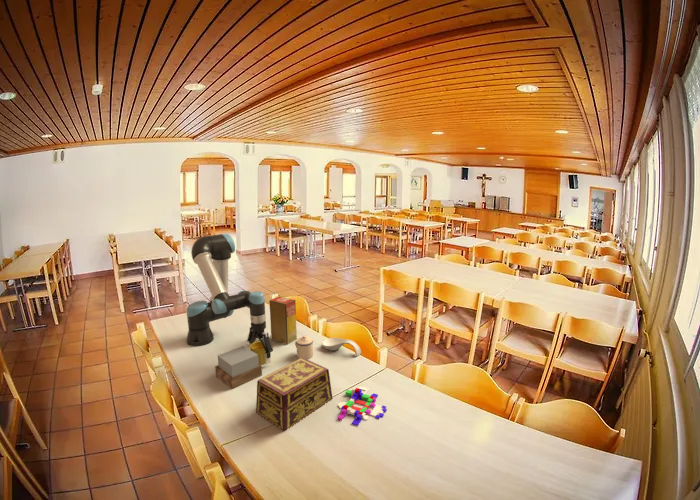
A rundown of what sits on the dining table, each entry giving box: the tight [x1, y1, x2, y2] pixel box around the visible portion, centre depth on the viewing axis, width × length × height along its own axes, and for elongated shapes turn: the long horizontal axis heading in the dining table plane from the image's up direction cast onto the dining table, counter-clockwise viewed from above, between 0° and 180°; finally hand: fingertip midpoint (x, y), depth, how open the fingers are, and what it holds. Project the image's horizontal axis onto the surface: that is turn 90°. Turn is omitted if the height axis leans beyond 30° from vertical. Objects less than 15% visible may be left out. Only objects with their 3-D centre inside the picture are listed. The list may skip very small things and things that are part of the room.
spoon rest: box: [321, 337, 362, 357], centre depth 208 cm, size 24×12×7 cm, turn 58°
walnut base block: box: [214, 364, 263, 390], centre depth 183 cm, size 16×16×6 cm
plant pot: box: [249, 340, 266, 366], centre depth 195 cm, size 10×10×10 cm
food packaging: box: [269, 295, 298, 345], centre depth 220 cm, size 13×9×25 cm
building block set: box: [337, 385, 388, 427], centre depth 158 cm, size 25×20×4 cm
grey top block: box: [217, 345, 259, 377], centre depth 181 cm, size 14×14×6 cm
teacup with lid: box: [294, 335, 314, 360], centre depth 202 cm, size 12×9×12 cm
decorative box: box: [255, 358, 333, 432], centre depth 158 cm, size 28×19×15 cm
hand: (260, 359), depth 196 cm, fingers open, 13 cm apart
